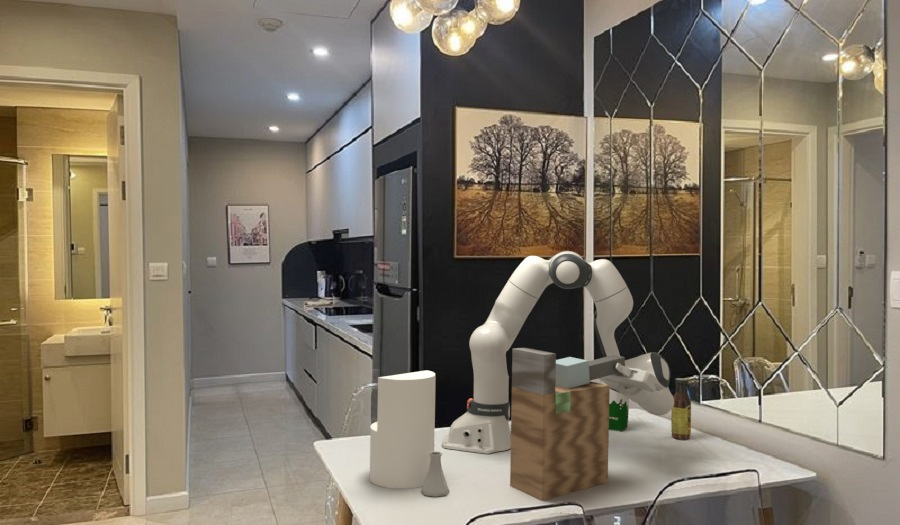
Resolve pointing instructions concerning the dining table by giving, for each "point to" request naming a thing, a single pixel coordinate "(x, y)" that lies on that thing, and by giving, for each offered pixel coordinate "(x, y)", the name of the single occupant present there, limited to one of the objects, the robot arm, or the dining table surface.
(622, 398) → the milk carton
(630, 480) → the dining table surface
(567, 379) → the mallet
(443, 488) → the flask
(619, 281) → the robot arm
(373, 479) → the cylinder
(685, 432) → the sauce bottle
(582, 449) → the wood grain block
